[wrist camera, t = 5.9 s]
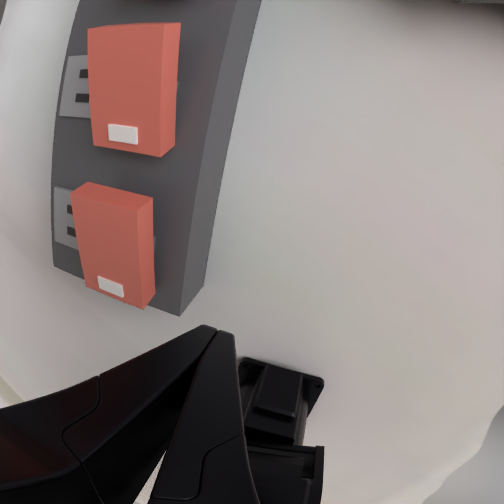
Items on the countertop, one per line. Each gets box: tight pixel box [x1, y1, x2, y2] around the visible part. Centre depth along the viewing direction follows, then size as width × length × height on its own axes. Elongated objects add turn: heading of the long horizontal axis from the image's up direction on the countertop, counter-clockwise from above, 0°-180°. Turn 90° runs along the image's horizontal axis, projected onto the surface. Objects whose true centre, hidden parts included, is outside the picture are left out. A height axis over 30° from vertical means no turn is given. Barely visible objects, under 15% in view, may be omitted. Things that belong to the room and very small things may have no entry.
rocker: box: [88, 23, 181, 157], centre depth 12 cm, size 6×4×2 cm, turn 169°
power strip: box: [51, 0, 261, 317], centre depth 14 cm, size 34×10×5 cm, turn 168°
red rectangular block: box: [70, 182, 155, 310], centre depth 16 cm, size 6×4×2 cm, turn 169°
